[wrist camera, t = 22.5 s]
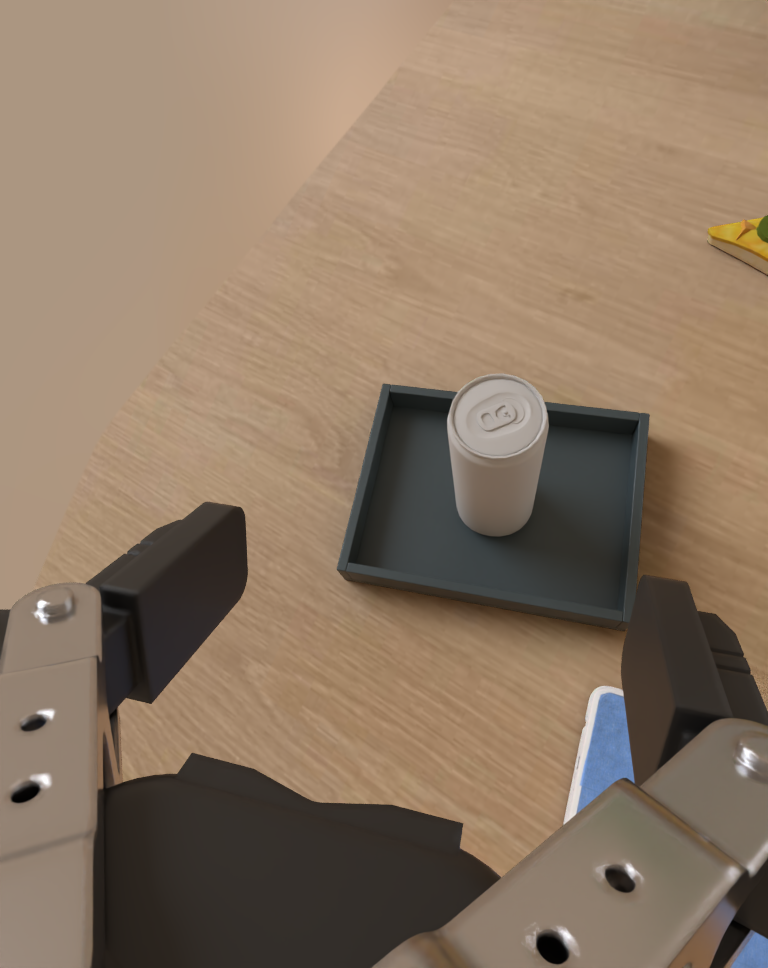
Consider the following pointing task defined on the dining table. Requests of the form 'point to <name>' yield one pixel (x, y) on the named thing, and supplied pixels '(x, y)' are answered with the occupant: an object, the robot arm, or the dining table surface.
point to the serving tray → (512, 558)
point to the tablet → (608, 760)
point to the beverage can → (496, 452)
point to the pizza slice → (744, 241)
